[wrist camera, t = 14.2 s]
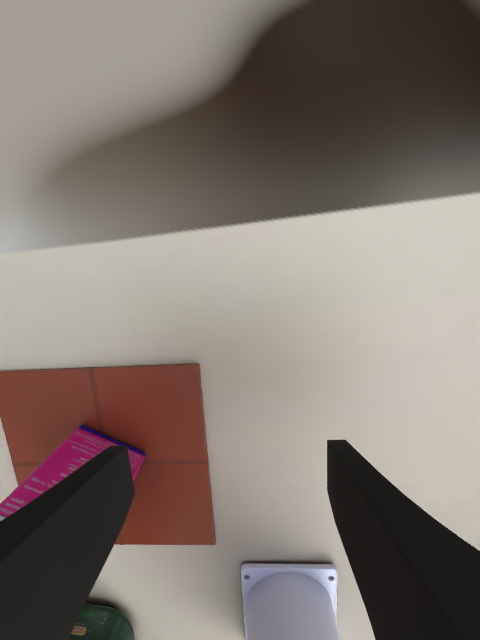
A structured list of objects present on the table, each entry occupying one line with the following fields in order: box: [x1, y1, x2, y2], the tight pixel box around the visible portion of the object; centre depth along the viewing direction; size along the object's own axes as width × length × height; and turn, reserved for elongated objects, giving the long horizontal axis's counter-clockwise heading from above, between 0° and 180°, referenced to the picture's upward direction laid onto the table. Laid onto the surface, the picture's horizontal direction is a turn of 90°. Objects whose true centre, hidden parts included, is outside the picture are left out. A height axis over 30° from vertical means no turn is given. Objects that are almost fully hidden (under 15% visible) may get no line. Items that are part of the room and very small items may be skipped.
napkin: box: [0, 364, 216, 545], centre depth 22 cm, size 16×16×1 cm
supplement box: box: [0, 424, 146, 521], centre depth 16 cm, size 6×6×12 cm
